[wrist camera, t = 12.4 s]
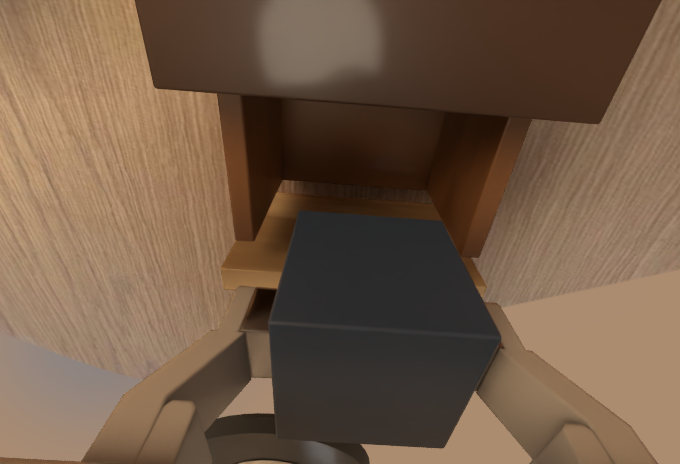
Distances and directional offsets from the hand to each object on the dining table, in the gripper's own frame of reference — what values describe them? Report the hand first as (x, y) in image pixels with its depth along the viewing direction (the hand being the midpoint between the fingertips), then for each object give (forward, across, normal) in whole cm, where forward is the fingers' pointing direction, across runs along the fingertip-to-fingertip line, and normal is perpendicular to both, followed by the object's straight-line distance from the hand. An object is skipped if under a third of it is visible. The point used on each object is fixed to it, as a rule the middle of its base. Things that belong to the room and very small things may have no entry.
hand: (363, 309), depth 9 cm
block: (+2, 0, 0) cm, 2 cm away
